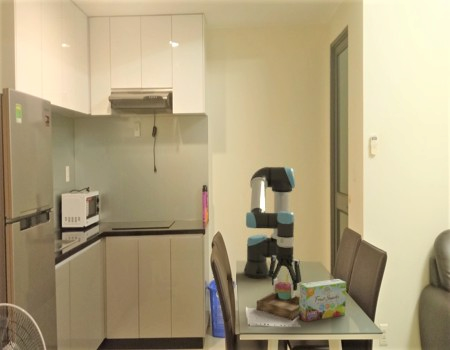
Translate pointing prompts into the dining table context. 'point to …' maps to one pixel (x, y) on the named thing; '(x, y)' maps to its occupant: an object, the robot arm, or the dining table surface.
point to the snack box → (322, 299)
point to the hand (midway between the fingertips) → (284, 294)
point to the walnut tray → (279, 306)
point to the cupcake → (283, 289)
